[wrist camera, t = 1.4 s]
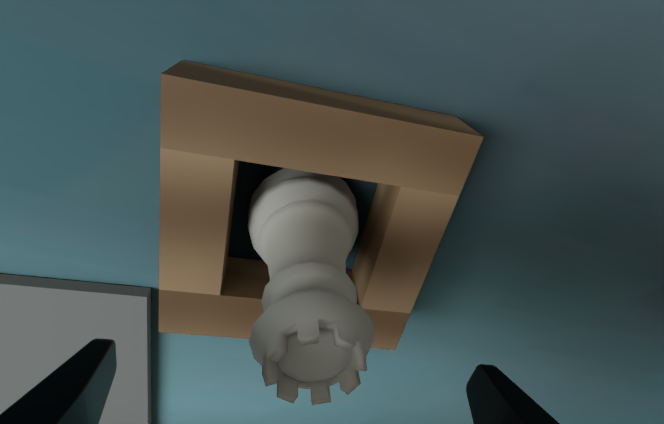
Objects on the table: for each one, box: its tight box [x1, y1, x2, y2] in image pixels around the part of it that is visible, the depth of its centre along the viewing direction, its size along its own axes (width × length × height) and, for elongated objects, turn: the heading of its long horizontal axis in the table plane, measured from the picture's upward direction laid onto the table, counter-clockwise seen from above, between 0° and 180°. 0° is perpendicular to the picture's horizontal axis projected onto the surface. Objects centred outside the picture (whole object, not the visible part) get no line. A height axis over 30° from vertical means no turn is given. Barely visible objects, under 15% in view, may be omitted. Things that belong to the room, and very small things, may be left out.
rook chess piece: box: [247, 168, 374, 405], centre depth 13 cm, size 4×4×8 cm
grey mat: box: [0, 274, 151, 424], centre depth 19 cm, size 12×12×1 cm
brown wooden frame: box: [159, 60, 484, 350], centre depth 15 cm, size 10×10×2 cm
